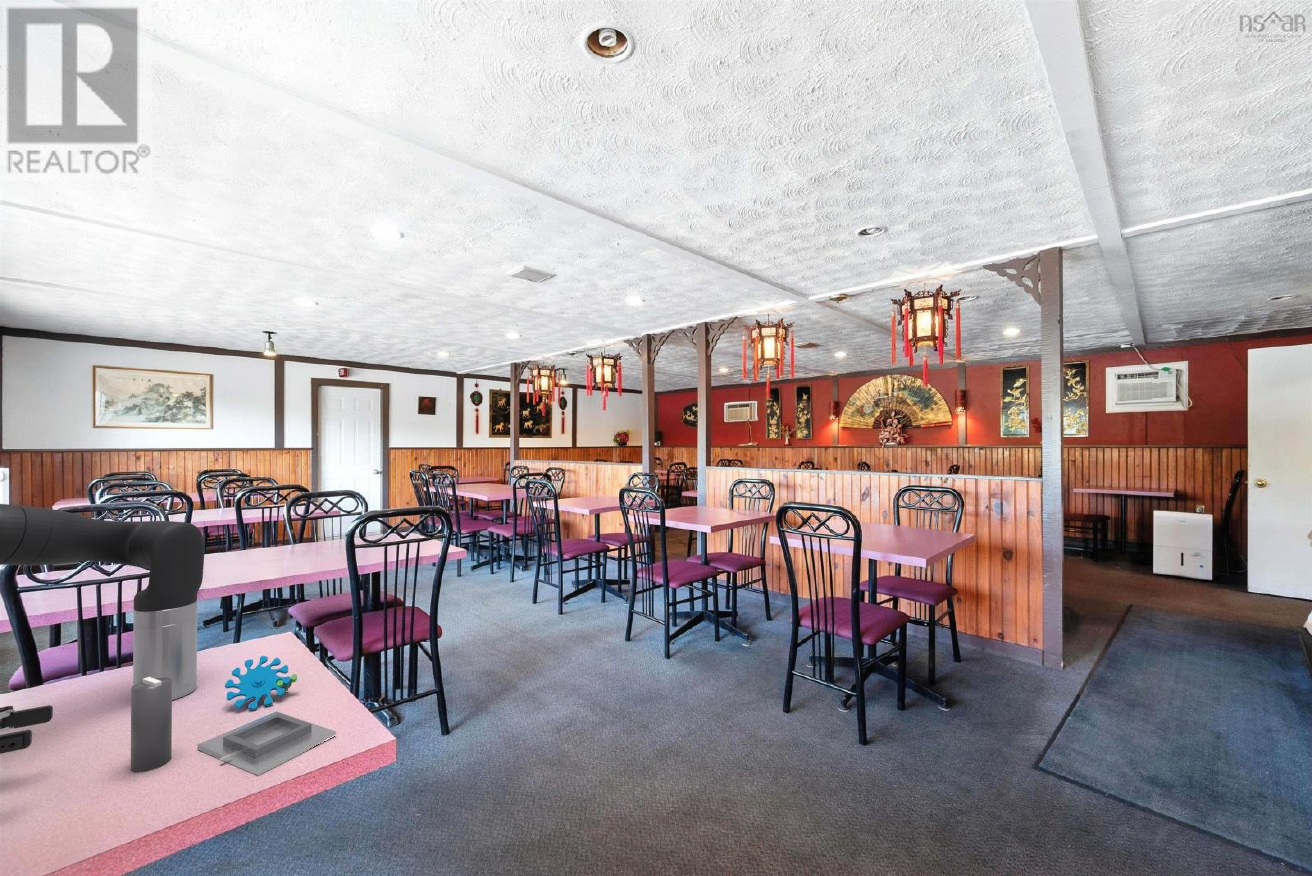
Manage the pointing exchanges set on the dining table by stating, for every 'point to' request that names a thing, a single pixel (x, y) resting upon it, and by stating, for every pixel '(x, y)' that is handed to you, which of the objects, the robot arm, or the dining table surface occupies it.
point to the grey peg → (151, 724)
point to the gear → (259, 683)
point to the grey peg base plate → (265, 742)
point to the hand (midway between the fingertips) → (42, 725)
